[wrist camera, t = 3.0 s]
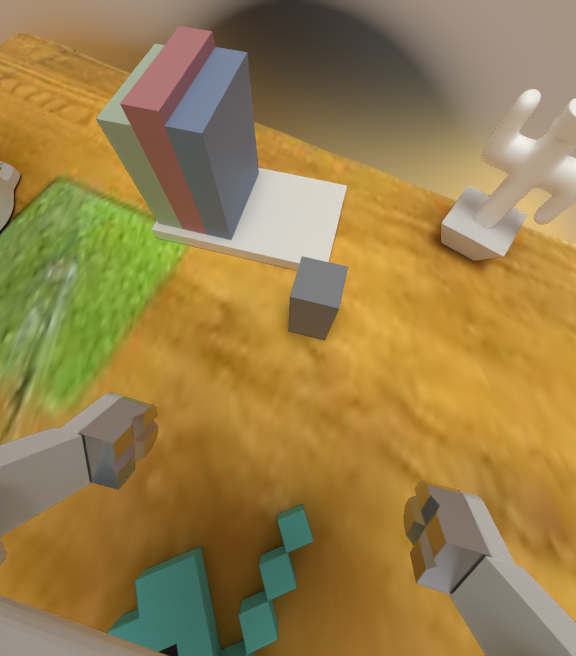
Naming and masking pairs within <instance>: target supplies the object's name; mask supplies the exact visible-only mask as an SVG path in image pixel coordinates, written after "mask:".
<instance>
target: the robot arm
mask: <svg viewBox="0 0 576 656" xmlns="http://www.w3.org/2000/svg"><path fill="white" fill-rule="evenodd" d="M19 179H20V172H19V171H17V170H16V169H15V168H14V167H13V166H11V165H9V164H6V163H4V162H1V161H0V230H1V229H2V228H3V227H4V225H5V224H6V222H7V221H8V219H9V217H10V215H11V213H12V210H13V206H14V188H15V187H16V185H17V183H18V181H19ZM157 416H158V414H157V407H156V406H154V405H151V404H147V403H144V402H141V401H138V400H135V399H131V398H128V397H124V396H121V395H118V394H114V393H107V394H105V395H103V396H102V397H100V398H99V399H98V400H96V401H95V402H94V403H93V404H91V405H90V406H89V407H87V408H86V409H85V410H83V411H82V412H81V413H79V414H78V415H77V416H75V417H74V418H73V419H71V420H70V421H69V422H67V423H66V424H65V425H63V426H62V427H61V428H56V427H54V428H51V429H47V430H44V431H41V432H38V433H35V434H32V435H29V436H26V437H23V438H20V439H17V440H14V441H11V442H8V443H5V444H2V445H0V537H1V536H2V535H4V534H6V533H8V532H9V531H11V530H13V529H14V528H16V527H18V526H19V525H21V524H23V523H25V522H26V521H28V520H30V519H31V518H33V517H35V516H36V515H38V514H40V513H42V512H43V511H45V510H47V509H48V508H50V507H52V506H54V505H55V504H57V503H59V502H60V501H62V500H64V499H65V498H67V497H69V496H71V495H72V494H74V493H76V492H77V491H79V490H81V489H83V488H84V487H86V486H88V485H89V484H90V482H92V483H96V484H99V485H103V486H107V487H110V488H114V489H117V490H119V489H120V488H121V486H122V485H123V484H124V483H125V481H126V480H127V479H128V478H129V476H130V475H131V474H132V473H133V471H134V470H135V462H136V461H138V460H140V459H142V458H144V457H146V455H147V454H148V453H149V451H150V450H151V449H152V447H153V445H154V443H155V441H156V438H157V434H158V426H157V424H156V423H155V421H154V419H155V418H156V417H157ZM415 492H416V496H413V497H411V498H409V499H408V501H407V503H406V505H405V510H404V527H405V532H406V536H407V537H408V538H409V540H410V541H411V543H412V544H413V545H414V546H413V548H412V550H411V552H410V556H411V561H412V566H413V570H414V575H415V579H416V583H417V584H420V585H423V586H426V587H429V588H431V589H434V590H437V591H440V592H443V593H446V594H449V595H451V596H450V598H451V599H452V601H453V603H454V604H455V606H456V608H457V609H458V611H459V613H460V614H461V616H462V617H463V619H464V621H465V622H466V624H467V626H468V627H469V629H470V630H471V632H472V634H473V635H474V637H475V639H476V640H477V642H478V644H479V645H480V647H481V648H482V650H483V652H484V653H485V655H486V656H576V622H575V621H574V620H573V619H572V618H571V617H570V616H569V615H568V614H567V613H566V612H565V611H564V610H563V609H562V608H561V607H560V606H559V605H558V604H557V603H556V602H555V601H554V600H553V599H552V597H551V596H550V595H549V594H548V593H547V592H546V591H545V590H544V589H543V588H542V587H541V586H540V585H539V584H538V583H537V582H536V581H535V580H534V579H533V578H532V577H531V576H530V575H529V574H528V572H527V571H526V570H525V569H524V568H523V567H521V566H518V565H515V563H514V561H513V559H512V557H511V555H510V553H509V551H508V549H507V547H506V545H505V543H504V541H503V539H502V537H501V535H500V533H499V531H498V529H497V528H496V526H495V524H494V522H493V520H492V518H491V516H490V514H489V512H488V510H487V508H486V506H485V504H484V502H483V500H482V499H481V498H480V497H479V496H478V495H474V494H470V493H467V492H463V491H459V490H456V489H452V488H449V487H445V486H441V485H438V484H434V483H430V482H426V481H423V480H422V481H420V482H418V484H417V485H416V487H415ZM6 554H7V551H6V549H5V547H4V545H3V542H2V540H1V538H0V564H1V563H2V562H3V561H4V560H5V559H6ZM0 656H168V655H165V654H162V653H159V652H157V651H154V650H151V649H149V648H146V647H143V646H140V645H138V644H135V643H132V642H129V641H127V640H124V639H121V638H118V637H116V636H113V635H110V634H107V633H105V632H102V631H99V630H96V629H94V628H91V627H88V626H86V625H83V624H80V623H77V622H75V621H72V620H69V619H66V618H64V617H61V616H58V615H55V614H53V613H50V612H47V611H44V610H42V609H39V608H36V607H34V606H31V605H28V604H25V603H23V602H20V601H17V600H14V599H12V598H9V597H6V596H3V595H1V594H0Z"/></svg>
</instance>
